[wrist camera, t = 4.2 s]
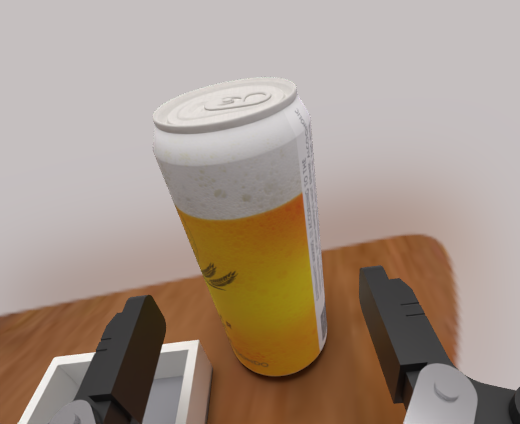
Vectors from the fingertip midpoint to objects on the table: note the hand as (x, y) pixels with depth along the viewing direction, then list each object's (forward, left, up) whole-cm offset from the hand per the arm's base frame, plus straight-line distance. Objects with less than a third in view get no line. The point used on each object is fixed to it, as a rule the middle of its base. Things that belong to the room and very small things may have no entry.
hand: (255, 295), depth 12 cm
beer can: (0, +4, -9) cm, 9 cm away
